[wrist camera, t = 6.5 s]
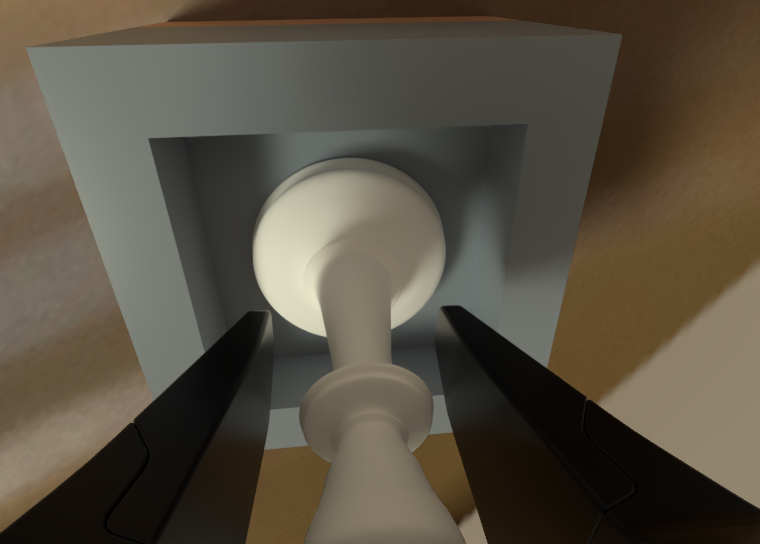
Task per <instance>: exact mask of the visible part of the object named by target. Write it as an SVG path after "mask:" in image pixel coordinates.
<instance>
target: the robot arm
mask: <svg viewBox="0 0 760 544" xmlns="http://www.w3.org/2000/svg"><path fill="white" fill-rule="evenodd" d="M435 349H436V355H437V360H438V366H439V371H440V377H441V382H442V388H443V393H444V399H445V404H446V409H447V414H448V417H449V421H450V425H451V428H452V431H453V434H454V437H455V440H456V444H457V447H458V450H459V453H460V456H461V460H462V463H463V466H464V469H465V472H466V476H467V479H468V482H469V485H470V488H471V491H472V495H473V498H474V501H475V504H476V507H477V511H478V514H479V517H480V520H481V523H482V527H483V530H484V533H485V536H486V539H487V543H488V544H760V509H759V508H758V507H756V506H754V505H752V504H751V503H749V502H747V501H745V500H744V499H742V498H740V497H739V496H737V495H736V494H734V493H732V492H731V491H729V490H727V489H726V488H724V487H723V486H721V485H720V484H718V483H716V482H715V481H713V480H712V479H710V478H708V477H707V476H705V475H704V474H702V473H700V472H699V471H697V470H695V469H694V468H692V467H691V466H689V465H687V464H686V463H684V462H683V461H681V460H679V459H678V458H676V457H675V456H673V455H671V454H670V453H668V452H667V451H665V450H663V449H662V448H660V447H659V446H657V445H656V444H654V443H652V442H651V441H649V440H648V439H646V438H645V437H643V436H642V435H640V434H639V433H637V432H635V431H634V430H632V429H631V428H630V427H628V426H627V425H625V424H623V423H622V422H621V421H619V420H618V419H617V418H615V417H613V416H612V415H611V414H609V413H608V412H606V411H605V410H604V409H602V408H601V407H600V406H598V405H597V404H596V403H594V402H593V401H591V400H588V401H587V397H586V396H584V395H583V394H582V393H580V392H579V391H577V390H576V389H575V388H573V387H572V386H571V385H569V384H568V383H566V382H565V381H564V380H562V379H561V378H560V377H558V376H557V375H555V374H554V373H553V372H551V371H550V370H549V369H547V368H546V367H544V366H543V365H542V364H540V363H539V362H538V361H536V360H535V359H533V358H532V357H531V356H529V355H528V354H527V353H525V352H524V351H522V350H521V349H520V348H518V347H517V346H516V345H514V344H513V343H511V342H510V341H509V340H507V339H506V338H505V337H503V336H502V335H500V334H499V333H498V332H496V331H495V330H494V329H492V328H491V327H489V326H488V325H487V324H485V323H484V322H483V321H481V320H480V319H478V318H477V317H476V316H474V315H473V314H472V313H470V312H469V311H467V310H466V309H465V308H463V307H462V306H460V305H446V306H441V307H440V309H439V312H438V319H437V327H436V335H435ZM273 365H274V338H273V327H272V317H271V313H270V311H268V310H251V311H248V312H247V313H246V314H245V315H244V316H243V317H242V318H240V319H239V320H238V321H237V322H236V323H235V324H234V325H233V326H232V327H231V328H230V329H229V330H228V331H227V332H226V333H225V334H224V335H223V336H221V337H220V338H219V339H218V340H217V341H216V342H215V343H214V344H213V345H212V346H211V347H210V348H209V349H208V350H207V351H206V352H205V353H204V354H202V355H201V356H200V357H199V358H198V359H197V360H196V361H195V362H194V363H193V364H192V365H191V366H190V367H189V368H188V369H187V370H186V371H185V372H183V373H182V374H181V375H180V376H179V377H178V378H177V379H176V380H175V381H174V382H173V383H172V384H171V385H170V386H169V387H168V388H167V389H166V390H165V391H163V392H162V393H161V394H160V395H159V396H158V397H157V398H156V399H155V400H154V401H153V402H152V403H151V404H150V405H149V406H148V407H147V408H146V409H144V410H143V411H142V412H141V413H140V414H139V415H138V416H137V417H136V418H135V419H134V421H133V422H134V423H130V424H128V425H127V426H126V427H125V428H124V429H123V430H122V431H121V432H120V433H119V434H118V435H117V436H116V437H115V438H114V439H112V440H111V441H110V442H109V443H108V444H107V445H106V446H105V447H104V448H103V449H101V450H100V451H99V452H98V453H97V454H96V455H95V456H94V457H93V458H91V459H90V460H89V461H88V462H87V463H86V464H85V465H83V466H82V467H81V468H80V469H79V470H77V471H76V472H75V473H74V474H73V475H71V476H70V477H69V478H68V479H67V480H65V481H64V482H63V483H62V484H61V485H59V486H58V487H57V488H56V489H55V490H53V491H52V492H51V493H50V494H48V495H47V496H46V497H45V498H43V499H42V500H41V501H40V502H38V503H37V504H36V505H35V506H33V507H32V508H31V509H30V510H28V511H27V512H26V513H25V514H23V515H22V516H21V517H20V518H18V519H17V520H16V521H15V522H13V523H12V524H11V525H10V526H8V527H7V528H6V529H5V530H3V531H2V532H1V533H0V544H245V543H246V538H247V533H248V528H249V523H250V518H251V513H252V508H253V503H254V498H255V493H256V488H257V483H258V478H259V473H260V468H261V463H262V458H263V453H264V448H265V443H266V438H267V433H268V427H269V419H270V409H271V394H272V379H273Z"/></svg>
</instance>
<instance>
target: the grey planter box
mask: <svg viewBox="0 0 760 544" xmlns="http://www.w3.org/2000/svg"><path fill="white" fill-rule="evenodd" d="M622 36H623V34H617V33H610V32H602V31H595V30H588V29H580V28H573V27H566V26H559V25H551V24H544V23H537V22H530V21H522V20H515V19H508V18H501V17H493V16H460V17H405V18H350V19H294V20H239V21H184V22H162V23H157V24H151V25H146V26H140V27H135V28H129V29H124V30H118V31H113V32H107V33H102V34H97V35H91V36H86V37H80V38H75V39H69V40H64V41H58V42H53V43H47V44H42V45H36V46H31V47H26V50H27V52H28V55H29V58H30V61H31V63H32V66H33V69H34V72H35V74H36V77H37V80H38V83H39V86H40V88H41V91H42V94H43V97H44V99H45V102H46V105H47V108H48V110H49V113H50V116H51V119H52V121H53V124H54V127H55V130H56V132H57V135H58V138H59V141H60V144H61V146H62V149H63V152H64V155H65V157H66V160H67V163H68V166H69V168H70V171H71V174H72V177H73V179H74V182H75V185H76V188H77V191H78V193H79V196H80V199H81V202H82V204H83V207H84V210H85V213H86V215H87V218H88V221H89V224H90V226H91V229H92V232H93V235H94V237H95V240H96V243H97V246H98V249H99V251H100V254H101V257H102V260H103V262H104V265H105V268H106V271H107V273H108V276H109V279H110V282H111V284H112V287H113V290H114V293H115V295H116V298H117V301H118V304H119V307H120V309H121V312H122V315H123V318H124V320H125V323H126V326H127V329H128V331H129V334H130V337H131V340H132V342H133V345H134V348H135V351H136V353H137V356H138V359H139V362H140V365H141V367H142V370H143V373H144V376H145V378H146V381H147V384H148V387H149V389H150V392H151V395H152V398H153V400H155V399H156V398H157V397H158V396H159V395H160V394H161V393H162V392H163V391H165V390H166V389H167V388H168V387H169V386H170V385H171V384H172V383H173V382H174V381H175V380H176V379H177V378H178V377H179V376H180V375H181V374H182V373H183V372H185V371H186V370H187V369H188V368H189V367H190V366H191V365H192V364H193V363H194V362H195V361H196V360H197V359H198V358H199V357H200V356H201V355H202V354H204V353H205V352H206V351H207V350H208V349H209V348H210V347H211V346H212V345H213V344H214V343H215V342H216V341H217V340H218V339H219V338H220V337H221V336H223V335H224V334H225V333H226V332H227V331H228V330H229V329H230V328H231V327H232V326H233V325H234V324H235V323H236V322H237V321H238V320H239V319H240V318H242V317H243V316H244V315H245V314H246V313H247V312H248V311H251V310H268V311H270V313H271V317H272V327H273V338H274V365H273V379H272V394H271V409H270V419H269V427H268V433H267V438H266V443H265V448H264V450H266V449H277V448H288V447H299V446H309V445H308V444H307V442H306V440H305V437H304V434H303V431H302V429H301V426H300V421H299V410H300V406H301V403H302V400H303V398H304V396H305V395H306V393H307V392H308V390H309V389H310V388H311V387H312V386H313V385H314V384H315V383H316V382H317V381H318V380H319V379H321V378H322V377H324V376H325V375H327V374H329V373H330V372H332V371H333V368H332V361H331V355H330V350H329V345H328V340H327V337H324V336H320V335H317V334H313V333H310V332H308V331H305V330H303V329H301V328H299V327H297V326H295V325H294V324H292V323H290V322H289V321H288V320H286V319H285V318H284V317H282V316H281V315H280V314H279V313H278V312H277V311H276V310H275V309H274V308H273V307H272V306H271V305H270V303H269V302H268V301H267V299H266V298H265V296H264V295H263V293H262V291H261V289H260V287H259V285H258V282H257V279H256V276H255V272H254V267H253V252H252V238H253V231H254V226H255V223H256V220H257V217H258V214H259V212H260V210H261V208H262V206H263V204H264V203H265V201H266V200H267V198H268V197H269V196H270V194H271V193H272V192H273V191H274V190H275V189H276V188H277V187H278V186H279V185H280V184H281V183H282V182H283V181H284V180H286V179H287V178H288V177H290V176H291V175H293V174H294V173H296V172H298V171H300V170H301V169H303V168H306V167H308V166H310V165H313V164H316V163H319V162H322V161H326V160H331V159H338V158H362V159H369V160H374V161H378V162H381V163H384V164H387V165H390V166H392V167H394V168H396V169H398V170H400V171H402V172H404V173H405V174H407V175H408V176H410V177H411V178H412V179H414V180H415V181H416V182H417V183H418V184H419V185H420V186H421V187H422V188H423V189H424V190H425V191H426V192H427V194H428V195H429V196H430V198H431V199H432V201H433V203H434V204H435V206H436V208H437V211H438V213H439V216H440V218H441V222H442V226H443V232H444V238H445V245H446V258H445V265H444V270H443V274H442V277H441V279H440V282H439V284H438V286H437V288H436V290H435V292H434V293H433V295H432V296H431V298H430V299H429V301H428V302H427V303H426V304H425V305H424V306H423V308H422V309H421V310H420V311H418V312H417V313H416V314H415V315H414V316H413V317H411V318H410V319H409V320H407V321H406V322H404V323H403V324H401V325H399V326H397V327H395V328H393V329H391V356H392V364H393V365H397V366H400V367H402V368H405V369H407V370H409V371H411V372H413V373H414V374H416V375H417V376H418V377H419V378H421V379H422V380H423V381H424V383H425V384H426V385H427V387H428V388H429V390H430V392H431V394H432V397H433V403H434V411H433V420H432V426H431V429H430V431H429V434H439V433H450V432H453V431H452V428H451V425H450V421H449V417H448V414H447V409H446V404H445V399H444V393H443V388H442V382H441V377H440V371H439V366H438V360H437V355H436V349H435V335H436V327H437V319H438V312H439V309H440V307H441V306H446V305H460V306H462V307H463V308H465V309H466V310H467V311H469V312H470V313H472V314H473V315H474V316H476V317H477V318H478V319H480V320H481V321H483V322H484V323H485V324H487V325H488V326H489V327H491V328H492V329H494V330H495V331H496V332H498V333H499V334H500V335H502V336H503V337H505V338H506V339H507V340H509V341H510V342H511V343H513V344H514V345H516V346H517V347H518V348H520V349H521V350H522V351H524V352H525V353H527V354H528V355H529V356H531V357H532V358H533V359H535V360H536V361H538V362H539V363H540V364H542V365H543V366H544V367H546V368H547V365H548V361H549V357H550V352H551V348H552V343H553V339H554V335H555V330H556V326H557V321H558V317H559V313H560V308H561V304H562V299H563V295H564V291H565V286H566V282H567V277H568V273H569V269H570V264H571V260H572V255H573V251H574V247H575V242H576V238H577V233H578V229H579V225H580V220H581V216H582V211H583V207H584V203H585V198H586V194H587V189H588V185H589V181H590V176H591V172H592V167H593V163H594V159H595V154H596V150H597V145H598V141H599V137H600V132H601V128H602V123H603V119H604V115H605V110H606V106H607V102H608V97H609V93H610V88H611V84H612V80H613V75H614V71H615V66H616V62H617V58H618V53H619V49H620V44H621V40H622Z"/></svg>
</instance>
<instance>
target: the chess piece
mask: <svg viewBox="0 0 760 544" xmlns="http://www.w3.org/2000/svg"><path fill="white" fill-rule="evenodd" d="M252 252H253V267H254V272H255V276H256V279H257V282H258V285H259V287H260V289H261V291H262V293H263V295H264V296H265V298H266V299H267V301H268V302H269V303H270V305H271V306H272V307H273V308H274V309H275V310H276V311H277V312H278V313H279V314H280V315H281V316H282V317H284V318H285V319H286V320H288V321H289V322H290V323H292V324H294V325H295V326H297V327H299V328H301V329H303V330H305V331H308V332H310V333H313V334H317V335H320V336H324V337H327V340H328V345H329V350H330V355H331V361H332V368H333V371H332V372H330V373H329V374H327V375H325V376H324V377H322V378H321V379H319V380H318V381H317V382H316V383H315V384H314V385H313V386H312V387H311V388H310V389H309V390H308V392H307V393H306V395H305V396H304V398H303V400H302V403H301V406H300V410H299V421H300V426H301V429H302V431H303V434H304V437H305V440H306V442H307V444H308V445H309V447H310V448H311V449H312V450H313V451H314V452H315V453H316V454H317V455H318V456H320V457H321V458H323V459H324V460H326V461H328V462H331V463H332V464H331V466H330V469H329V471H328V474H327V477H326V480H325V484H324V489H323V494H322V497H321V500H320V503H319V505H318V508H317V511H316V514H315V517H314V519H313V521H312V523H311V524H310V527H309V529H308V531H307V534H306V538H305V541H304V544H466V542H465V540H464V538H463V536H462V534H461V532H460V530H459V528H458V526H457V525H456V523H455V521H454V520H453V518H452V516H451V515H450V513H449V511H448V510H447V508H446V507H445V506H444V505H443V503H442V502H441V501H440V500H439V498H438V497H437V495H436V494H435V492H434V490H433V489H432V487H431V486H430V484H429V482H428V481H427V479H426V477H425V474H424V472H423V470H422V468H421V466H420V464H419V462H418V461H417V459H416V458H415V457H414V455H413V454H412V452H413V451H414V450H416V449H417V448H418V447H419V446H420V445H421V444H422V443H423V441H424V440H425V439H426V437H427V435H428V434H429V431H430V429H431V426H432V420H433V411H434V403H433V397H432V394H431V392H430V390H429V388H428V387H427V385H426V384H425V383H424V381H423V380H422V379H421V378H419V377H418V376H417V375H416V374H414V373H413V372H411V371H409V370H407V369H405V368H402V367H400V366H397V365H393V364H392V356H391V329H393V328H395V327H397V326H399V325H401V324H403V323H404V322H406V321H407V320H409V319H410V318H411V317H413V316H414V315H415V314H416V313H417V312H418V311H420V310H421V309H422V308H423V306H424V305H425V304H426V303H427V302H428V301H429V299H430V298H431V296H432V295H433V293H434V292H435V290H436V288H437V286H438V284H439V282H440V279H441V277H442V274H443V270H444V265H445V258H446V245H445V238H444V232H443V226H442V222H441V218H440V216H439V213H438V211H437V208H436V206H435V204H434V203H433V201H432V199H431V198H430V196H429V195H428V194H427V192H426V191H425V190H424V189H423V188H422V187H421V186H420V185H419V184H418V183H417V182H416V181H415V180H414V179H412V178H411V177H410V176H408V175H407V174H405V173H404V172H402V171H400V170H398V169H396V168H394V167H392V166H390V165H387V164H384V163H381V162H378V161H374V160H369V159H362V158H338V159H331V160H326V161H322V162H319V163H316V164H313V165H310V166H308V167H306V168H303V169H301V170H300V171H298V172H296V173H294V174H293V175H291V176H290V177H288V178H287V179H286V180H284V181H283V182H282V183H281V184H280V185H279V186H278V187H277V188H276V189H275V190H274V191H273V192H272V193H271V194H270V196H269V197H268V198H267V200H266V201H265V203H264V204H263V206H262V208H261V210H260V212H259V214H258V217H257V220H256V223H255V226H254V231H253V238H252Z"/></svg>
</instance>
